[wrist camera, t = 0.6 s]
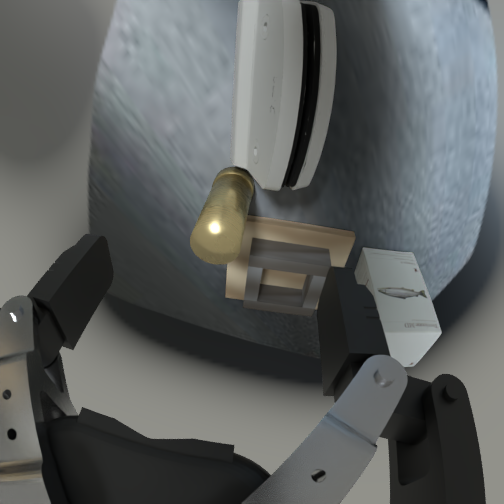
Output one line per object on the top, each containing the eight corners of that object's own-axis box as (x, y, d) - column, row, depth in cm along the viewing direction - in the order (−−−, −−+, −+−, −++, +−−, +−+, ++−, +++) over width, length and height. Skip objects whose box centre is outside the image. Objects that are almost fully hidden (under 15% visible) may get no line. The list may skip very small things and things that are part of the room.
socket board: (232, 212, 33) (225, 235, 29) (353, 231, 32) (360, 255, 29) (226, 290, 41) (221, 314, 38) (324, 304, 41) (326, 327, 38)
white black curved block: (238, -3, 18) (275, -24, 11) (290, 3, 19) (348, -7, 12) (230, 162, 29) (254, 217, 21) (275, 160, 30) (314, 212, 22)
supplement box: (414, 250, 33) (445, 332, 24) (394, 290, 38) (413, 368, 28) (361, 244, 34) (382, 332, 24) (346, 286, 38) (357, 370, 29)
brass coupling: (215, 164, 29) (187, 219, 21) (256, 169, 29) (244, 227, 21) (213, 199, 32) (189, 261, 24) (252, 204, 32) (239, 268, 24)
